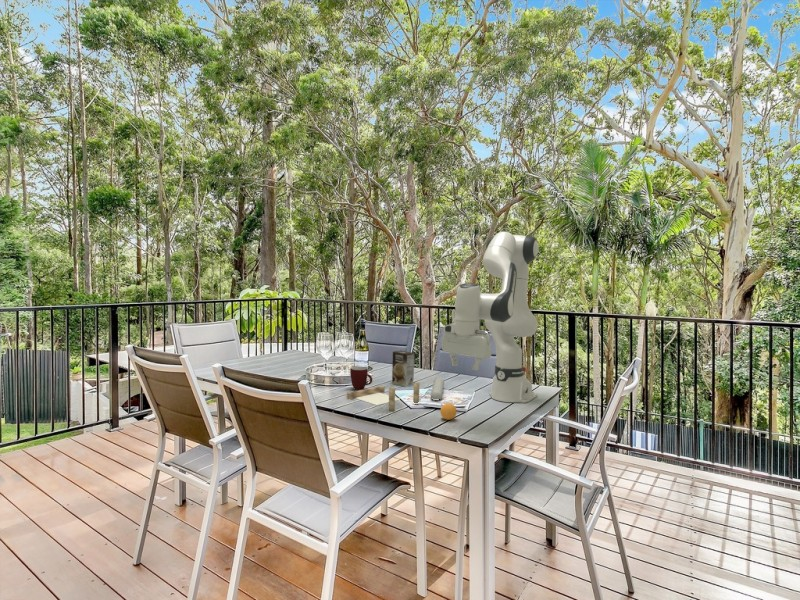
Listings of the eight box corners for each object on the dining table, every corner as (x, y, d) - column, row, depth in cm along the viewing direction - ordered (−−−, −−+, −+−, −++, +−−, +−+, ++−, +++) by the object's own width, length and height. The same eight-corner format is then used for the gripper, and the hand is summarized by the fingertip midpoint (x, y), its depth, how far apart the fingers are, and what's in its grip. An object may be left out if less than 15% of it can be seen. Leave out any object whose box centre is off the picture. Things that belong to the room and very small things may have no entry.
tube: (443, 393, 196) (446, 379, 220) (432, 388, 196) (435, 375, 221) (439, 405, 196) (442, 390, 221) (427, 400, 197) (431, 386, 221)
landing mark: (379, 393, 208) (379, 392, 208) (401, 399, 198) (401, 399, 198) (355, 398, 199) (355, 397, 199) (376, 405, 189) (376, 405, 189)
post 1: (391, 409, 184) (392, 386, 183) (396, 410, 182) (396, 388, 182) (387, 410, 182) (387, 387, 182) (391, 411, 181) (391, 389, 180)
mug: (374, 388, 217) (374, 367, 216) (370, 392, 209) (370, 370, 208) (352, 386, 219) (353, 366, 218) (347, 391, 211) (348, 369, 210)
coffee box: (391, 384, 226) (392, 351, 225) (399, 381, 231) (400, 350, 230) (405, 387, 220) (406, 353, 219) (414, 385, 225) (414, 352, 224)
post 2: (416, 402, 194) (416, 381, 193) (420, 404, 192) (420, 382, 191) (412, 403, 192) (412, 382, 191) (416, 405, 190) (416, 383, 190)
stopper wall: (381, 391, 212) (381, 385, 212) (384, 392, 211) (384, 386, 210) (346, 398, 198) (347, 392, 198) (349, 399, 197) (349, 393, 197)
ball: (447, 415, 177) (447, 400, 176) (459, 419, 172) (460, 403, 172) (436, 419, 172) (437, 403, 172) (449, 423, 168) (449, 406, 168)
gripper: (496, 331, 157) (494, 371, 158) (451, 326, 173) (449, 362, 173) (484, 332, 153) (482, 373, 154) (439, 326, 168) (438, 364, 169)
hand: (464, 367), depth 163 cm, fingers open, 8 cm apart
